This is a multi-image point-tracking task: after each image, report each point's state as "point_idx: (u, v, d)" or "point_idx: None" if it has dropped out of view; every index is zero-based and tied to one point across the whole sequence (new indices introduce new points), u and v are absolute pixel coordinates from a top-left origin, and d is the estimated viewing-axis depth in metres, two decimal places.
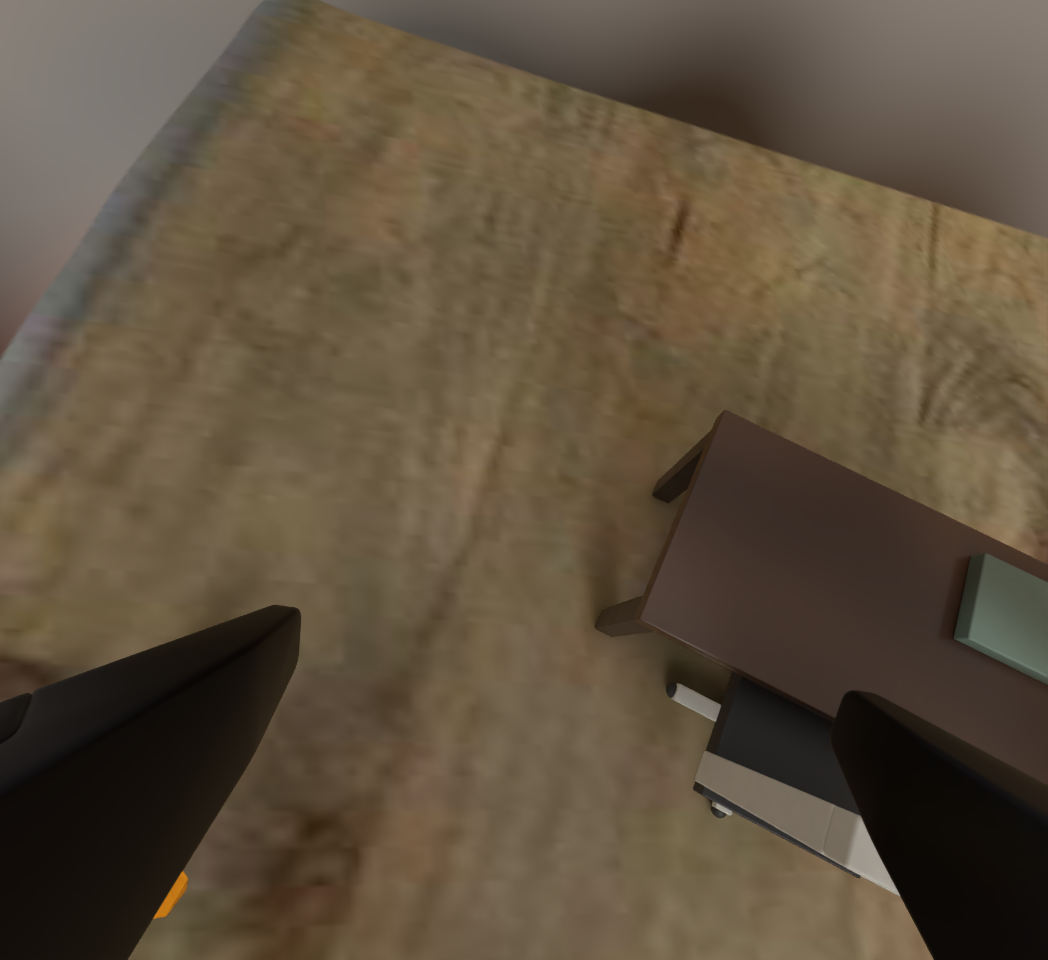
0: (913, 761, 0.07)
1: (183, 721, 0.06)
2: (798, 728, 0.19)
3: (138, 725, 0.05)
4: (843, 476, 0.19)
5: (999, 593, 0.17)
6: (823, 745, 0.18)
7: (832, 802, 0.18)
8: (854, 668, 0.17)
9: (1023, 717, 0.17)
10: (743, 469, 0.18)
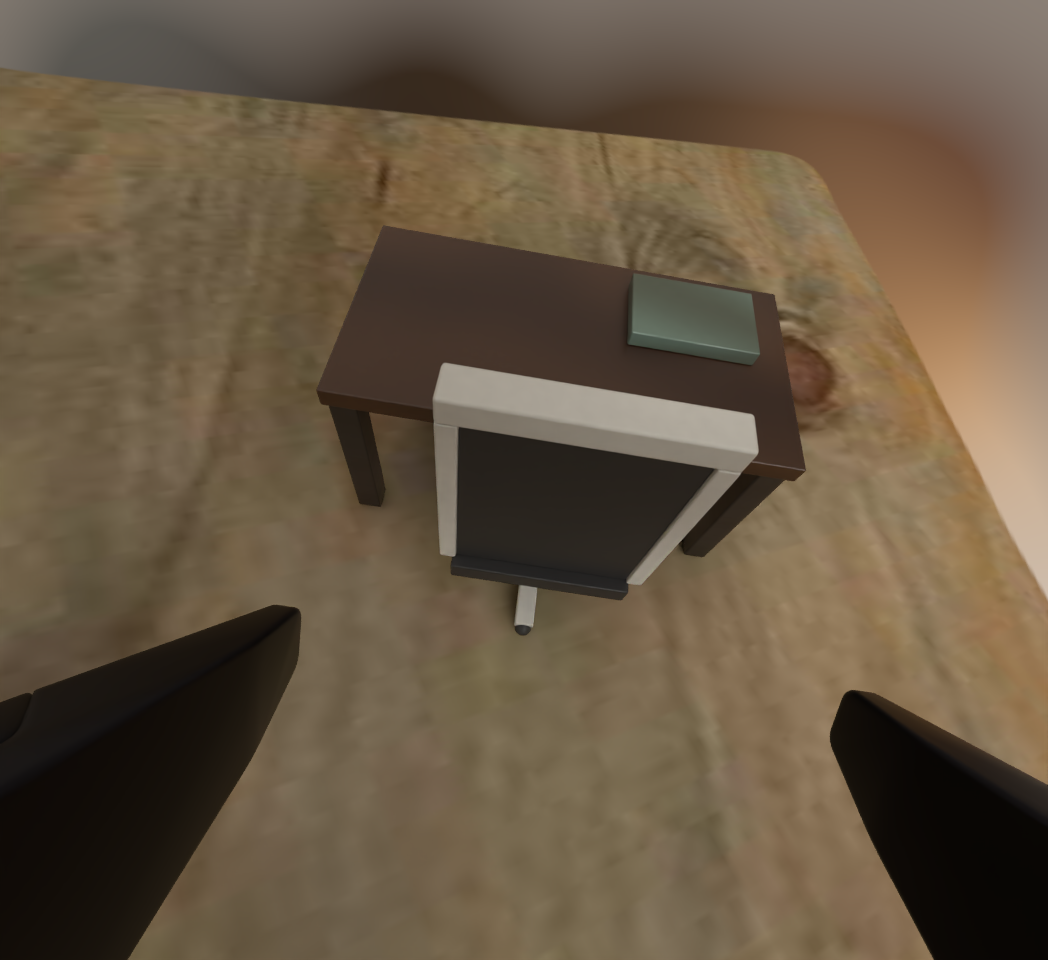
0: (913, 761, 0.07)
1: (183, 721, 0.06)
2: None
3: (138, 725, 0.05)
4: (503, 252, 0.20)
5: (651, 297, 0.19)
6: None
7: None
8: None
9: (703, 386, 0.18)
10: (407, 262, 0.19)
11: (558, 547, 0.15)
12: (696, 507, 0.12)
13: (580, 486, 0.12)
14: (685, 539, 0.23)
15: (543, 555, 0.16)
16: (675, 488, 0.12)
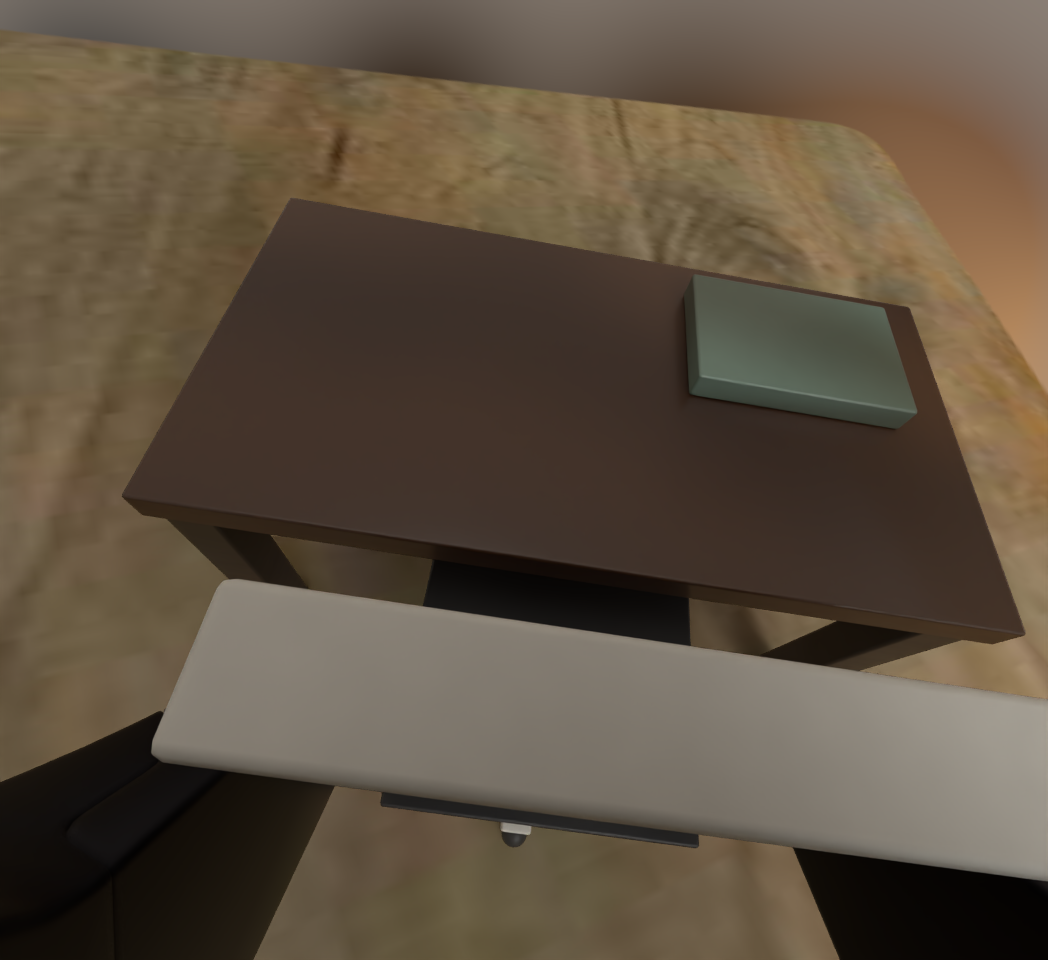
0: None
1: None
2: None
3: None
4: (482, 241, 0.13)
5: (726, 313, 0.11)
6: None
7: None
8: (545, 471, 0.10)
9: (823, 470, 0.10)
10: (323, 257, 0.12)
11: None
12: None
13: None
14: None
15: None
16: None
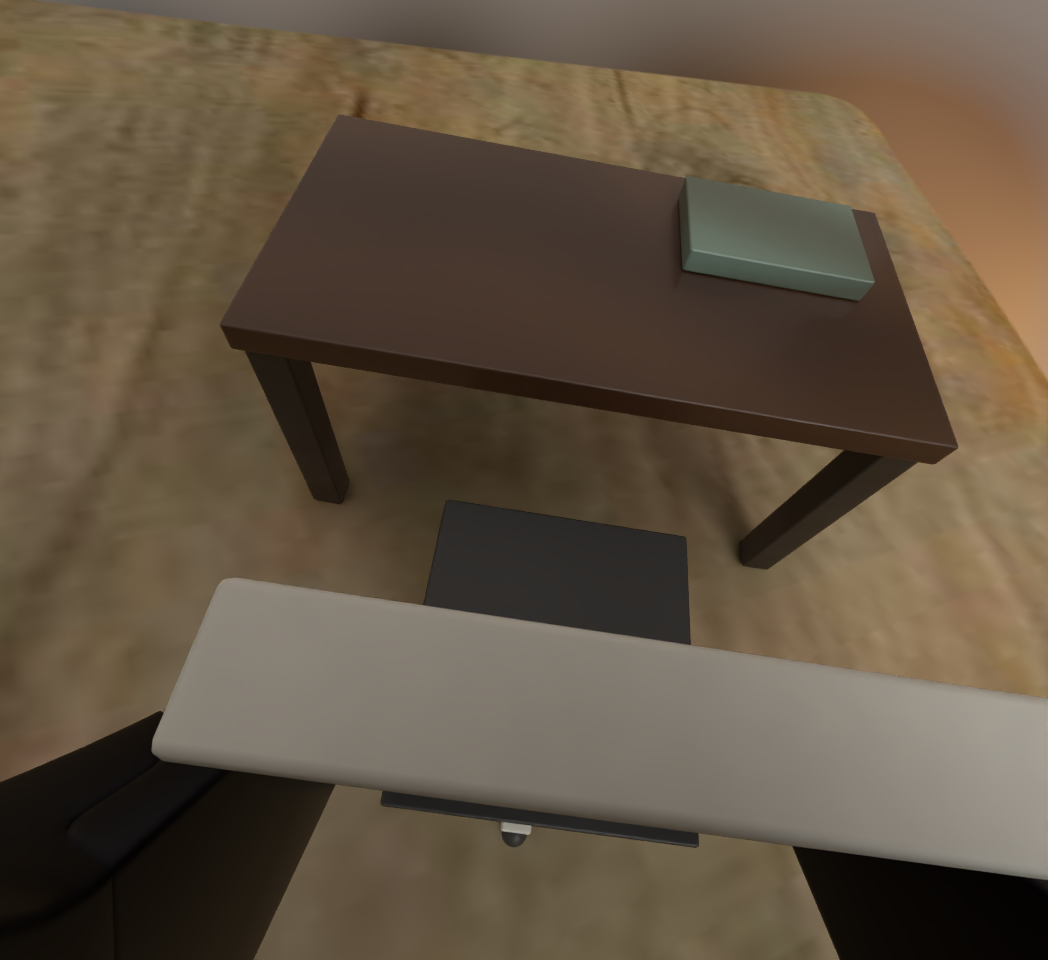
0: None
1: None
2: None
3: None
4: (504, 151, 0.14)
5: (714, 205, 0.13)
6: None
7: None
8: (562, 319, 0.12)
9: (794, 328, 0.12)
10: (370, 159, 0.14)
11: None
12: None
13: None
14: (744, 546, 0.17)
15: None
16: None
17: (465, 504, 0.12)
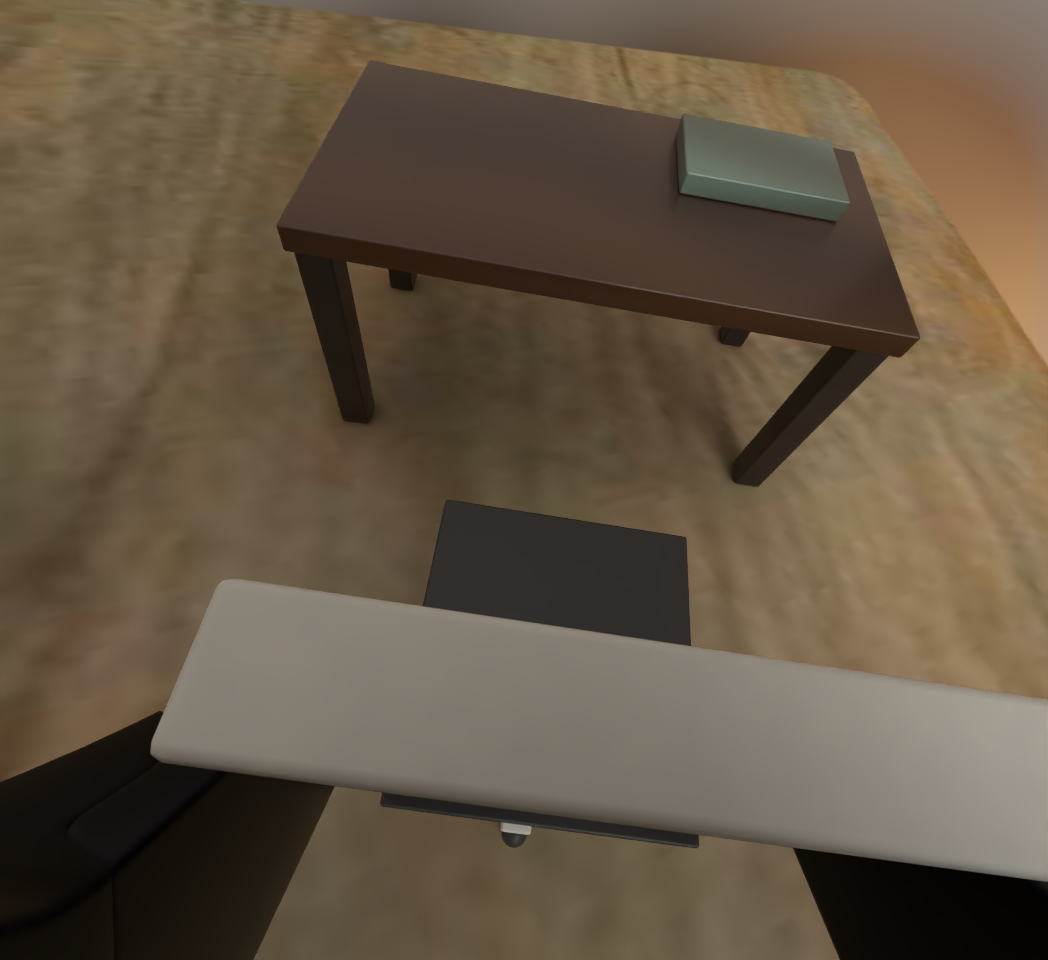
0: None
1: None
2: None
3: None
4: (519, 94, 0.16)
5: (707, 138, 0.15)
6: None
7: None
8: (573, 230, 0.13)
9: (778, 241, 0.14)
10: (399, 98, 0.15)
11: None
12: None
13: None
14: (737, 465, 0.19)
15: None
16: None
17: (465, 504, 0.12)
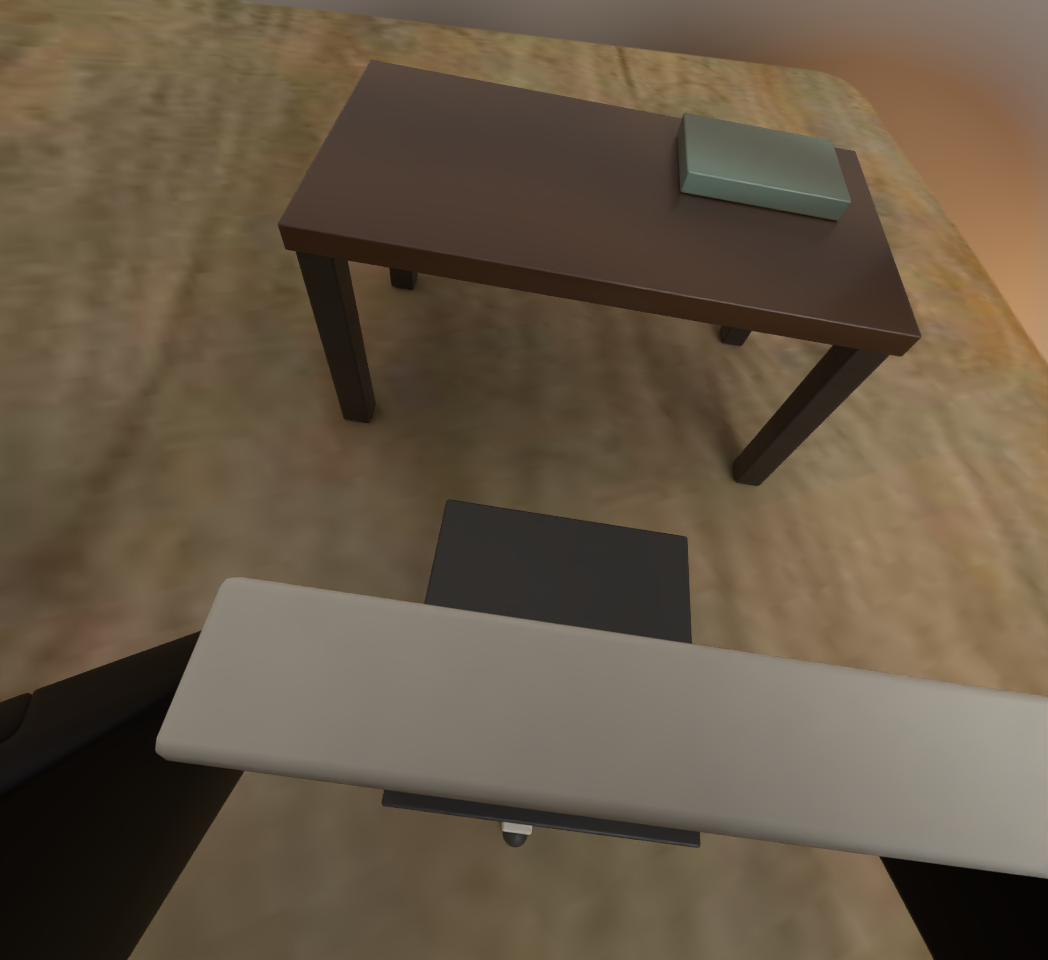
0: None
1: None
2: None
3: (138, 725, 0.05)
4: (520, 93, 0.16)
5: (708, 137, 0.15)
6: None
7: None
8: (574, 228, 0.13)
9: (779, 240, 0.14)
10: (400, 97, 0.15)
11: None
12: None
13: None
14: (737, 464, 0.19)
15: None
16: None
17: (466, 504, 0.12)
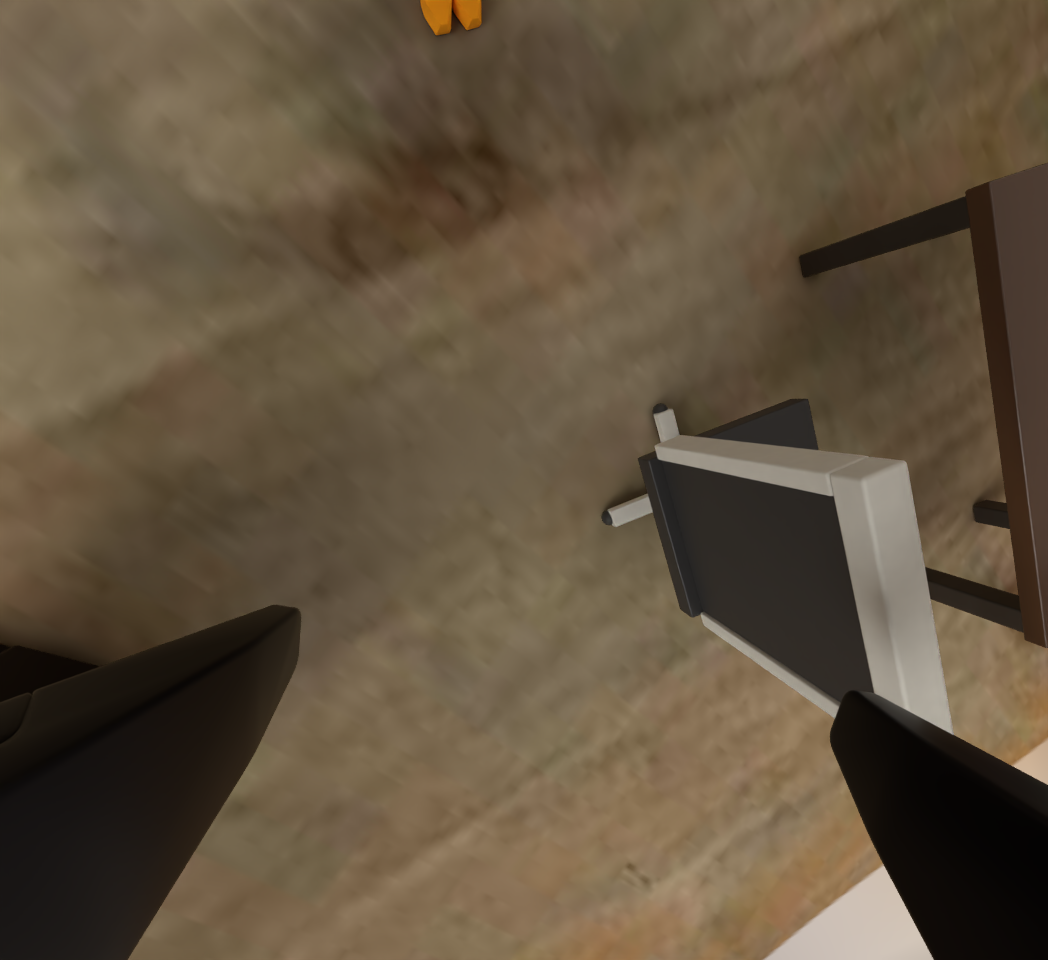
0: (913, 761, 0.07)
1: (183, 721, 0.06)
2: None
3: (138, 725, 0.05)
4: None
5: None
6: None
7: None
8: None
9: None
10: None
11: (714, 559, 0.16)
12: (823, 702, 0.13)
13: (802, 599, 0.12)
14: None
15: (697, 543, 0.16)
16: (838, 687, 0.12)
17: (809, 412, 0.18)
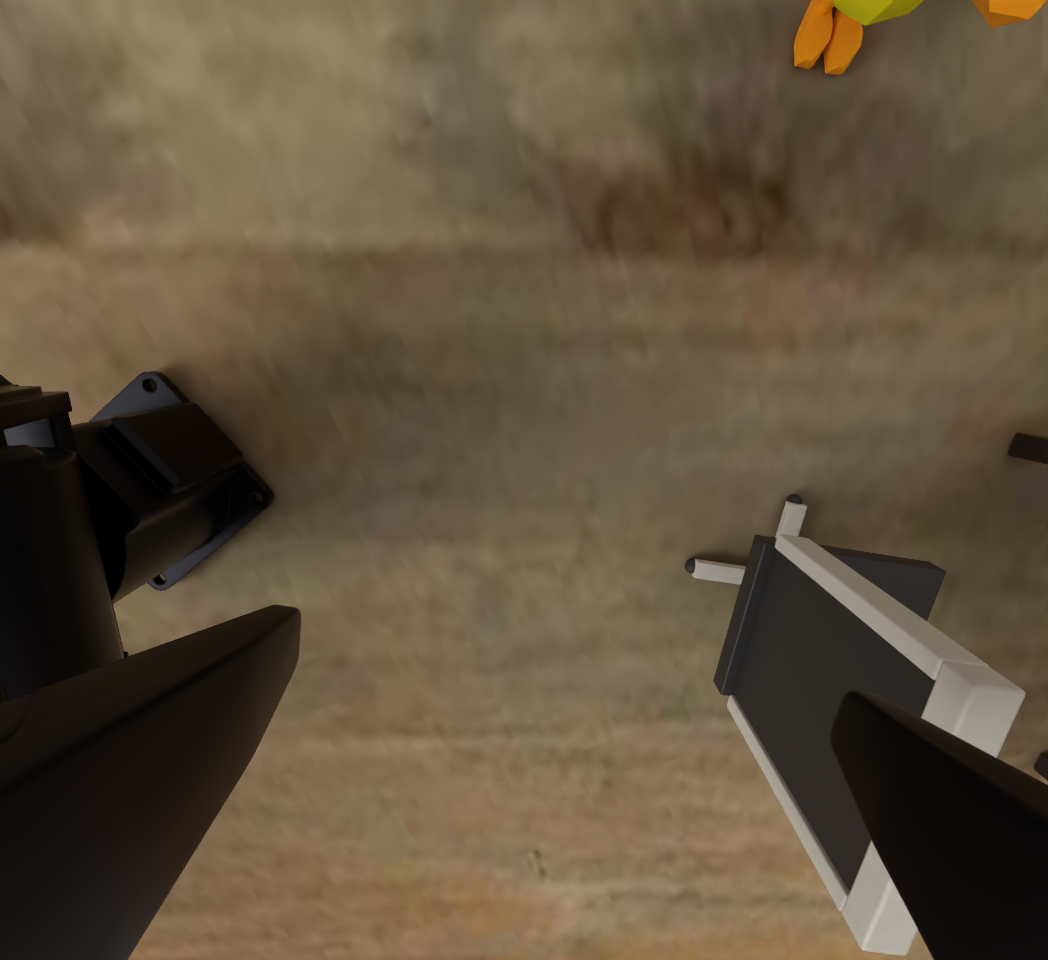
0: (913, 761, 0.07)
1: (183, 721, 0.06)
2: None
3: (138, 725, 0.05)
4: None
5: None
6: None
7: None
8: None
9: None
10: None
11: (775, 660, 0.16)
12: (806, 836, 0.13)
13: None
14: None
15: (767, 637, 0.17)
16: (830, 833, 0.13)
17: (939, 584, 0.17)
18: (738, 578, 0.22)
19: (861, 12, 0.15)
